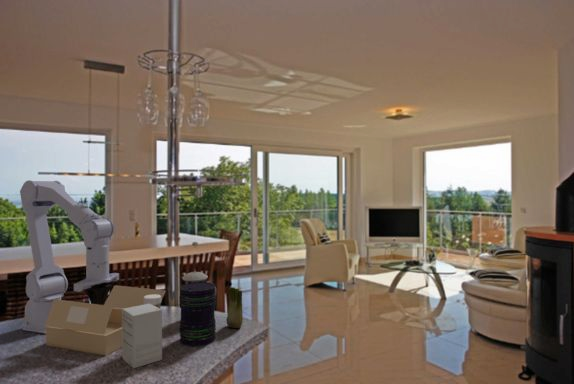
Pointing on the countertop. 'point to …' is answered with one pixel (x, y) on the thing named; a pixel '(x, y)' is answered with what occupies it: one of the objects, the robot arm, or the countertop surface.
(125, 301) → the flap
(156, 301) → the sprinkles bottle
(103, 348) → the carton
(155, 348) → the supplement box
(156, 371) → the countertop surface
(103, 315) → the flap
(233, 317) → the fennel bulb
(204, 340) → the storage jar
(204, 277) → the french press
